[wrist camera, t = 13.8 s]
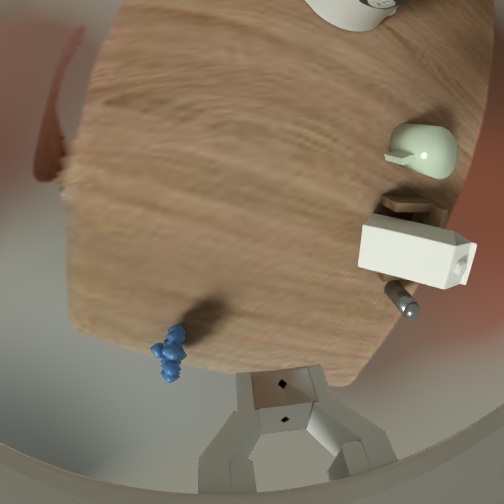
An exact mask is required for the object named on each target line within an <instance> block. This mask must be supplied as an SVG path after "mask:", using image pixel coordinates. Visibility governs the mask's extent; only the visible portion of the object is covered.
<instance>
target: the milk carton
mask: <svg viewBox="0 0 504 504" xmlns="http://www.w3.org/2000/svg"><path fill="white" fill-rule="evenodd" d="M476 247H477V244H476V243H472V242H470V241H469V240H467V239H465V238H464V237H462V236H461V235H459V234H457V233H456V232H454V231H450V230H446V229H442V228H438V227H434V226H430V225H426V224H421V223H417V222H412V221H408V220H403V219H399V218H394V217H389V216H384V215H379V214H374V213H373V214H372V215H371V216H370V217H369V219H368V220H367V221H366V222H365V223H364V224H363V228H362V237H361V246H360V254H359V261H358V267H361V268H365V269H369V270H373V271H377V272H380V273H384V274H388V275H392V276H396V277H400V278H403V279H407V280H411V281H415V282H418V283H422V284H426V285H430V286H434V287H437V288H441V289H447V288H450V287H452V286H455V285H457V284H463V285H466V282H467V279H468V275H469V272H470V269H471V265H472V262H473V258H474V255H475V251H476Z"/></svg>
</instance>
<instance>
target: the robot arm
mask: <svg viewBox="0 0 504 504" xmlns="http://www.w3.org/2000/svg"><path fill="white" fill-rule="evenodd" d="M305 1H306V2H307V3H308V4H309V5H310V7H311V8H312V9H313V10H314V11H315V12H316V13H317V14H318V15H319V16H320V17H322V18H323V19H324V20H326V21H327V22H329V23H331V24H333V25H335V26H337V27H339V28H342V29H345V30H349V31H355V32H364V31H369V30H372V29H374V28H376V27H377V26H378V25H379V24H380V23H381V21H382V20H383V19H384V18H385V17H388V16H391V15H393V14H394V13H395V12H396V8H398V7H399V6H400V5H402V4H405V3H406V2H408V1H410V0H305ZM236 387H237V402H238V411H233V413H232V414H231V416H230V417H229V418H228V420H227V421H226V423H225V424H224V425H223V427H222V428H221V429H220V431H219V432H218V434H217V435H216V436H215V438H214V439H213V440H212V442H211V443H210V444H209V446H208V447H207V448H206V450H205V451H204V452H203V453H202V455H201V456H200V457H199V468H198V494H188V493H173V492H164V491H155V490H148V489H141V488H135V487H129V486H124V485H119V484H114V483H109V482H105V481H101V480H97V479H93V478H89V477H86V476H82V475H79V474H76V473H72V472H69V471H66V470H63V469H60V468H58V467H55V466H52V465H49V464H46V463H44V462H41V461H39V460H36V459H34V458H32V457H29V456H27V455H25V454H23V453H20V452H18V451H16V450H14V449H12V448H10V447H8V446H6V445H4V444H2V443H1V442H0V504H504V403H503V404H502V405H501V406H499V407H498V408H496V409H495V410H493V411H492V412H490V413H489V414H487V415H486V416H484V417H483V418H481V419H480V420H478V421H477V422H475V423H473V424H471V425H470V426H468V427H467V428H465V429H463V430H461V431H460V432H458V433H456V434H454V435H452V436H450V437H448V438H447V439H445V440H443V441H441V442H439V443H437V444H435V445H433V446H430V447H428V448H426V449H424V450H422V451H420V452H417V453H415V454H413V455H410V456H408V457H406V458H403V459H400V460H397V458H396V455H395V453H394V451H393V448H392V446H391V443H390V441H389V438H388V436H387V434H386V431H384V430H383V429H381V428H380V427H378V426H377V425H375V424H374V423H372V422H371V421H369V420H368V419H366V418H365V417H363V416H362V415H360V414H359V413H358V412H356V411H355V410H353V409H352V408H350V407H349V406H348V405H346V404H345V403H343V402H342V401H341V400H339V399H338V398H336V399H333V396H332V393H331V391H330V388H329V385H328V382H327V380H326V377H325V374H324V371H323V369H322V366H321V365H320V364H319V365H313V366H306V367H305V366H304V367H297V368H289V369H281V370H275V371H261V372H251V373H250V372H244V373H236ZM300 429H307V431H309V432H310V433H311V434H312V435H313V436H314V437H315V438H316V439H317V440H318V441H319V442H320V443H321V444H322V445H323V446H324V447H325V448H326V449H327V450H328V451H330V452H331V453H332V454H333V455H334V456H335V457H336V458H335V460H334V461H333V463H332V465H331V466H330V468H329V469H328V471H327V473H328V477H329V482H325V483H320V484H315V485H310V486H305V487H299V488H292V489H285V490H278V491H269V492H259V493H257V491H256V483H255V475H254V467H253V461H251V460H250V459H248V457H249V455H250V453H251V451H252V450H253V448H254V446H255V444H256V443H257V441H258V439H259V437H260V434H268V433H275V432H283V431H292V430H300Z"/></svg>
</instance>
